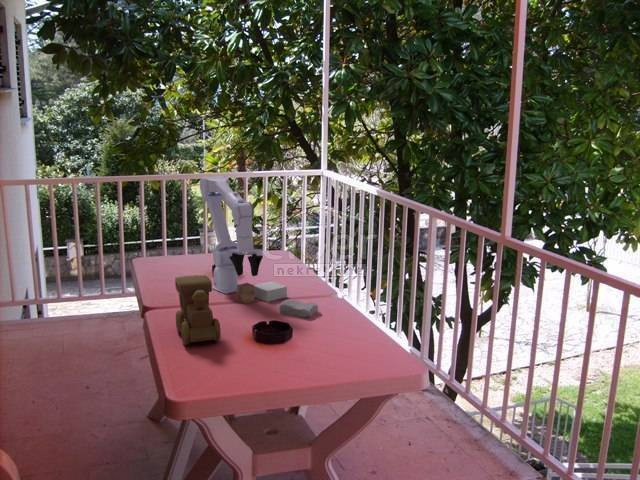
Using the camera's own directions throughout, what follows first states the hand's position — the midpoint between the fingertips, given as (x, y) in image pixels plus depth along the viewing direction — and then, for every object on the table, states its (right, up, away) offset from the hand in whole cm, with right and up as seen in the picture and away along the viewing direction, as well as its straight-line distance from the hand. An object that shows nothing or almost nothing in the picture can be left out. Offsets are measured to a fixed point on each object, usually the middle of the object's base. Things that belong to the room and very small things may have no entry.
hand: (247, 275), depth 234 cm
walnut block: (-1, -9, +3) cm, 10 cm away
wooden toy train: (-12, -17, -32) cm, 38 cm away
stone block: (+19, -13, -8) cm, 24 cm away
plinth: (+7, -8, +9) cm, 14 cm away
